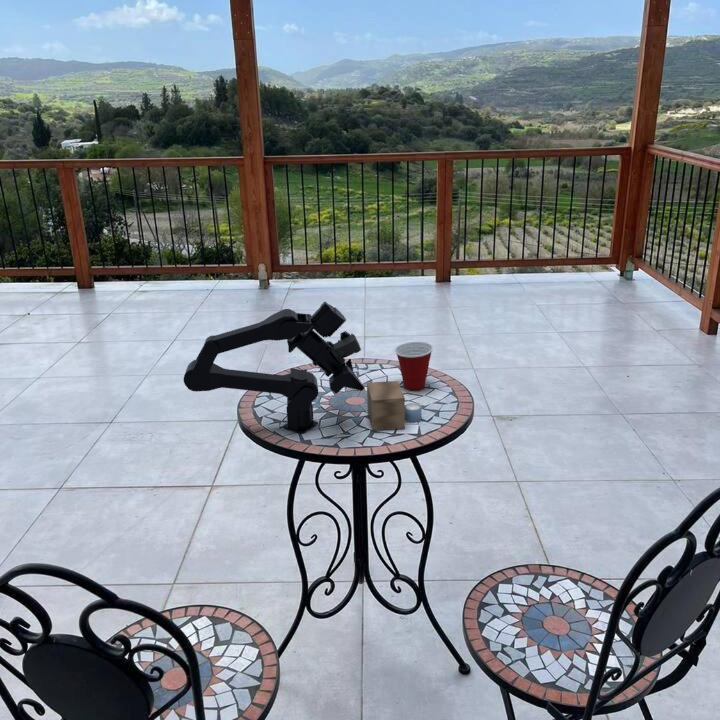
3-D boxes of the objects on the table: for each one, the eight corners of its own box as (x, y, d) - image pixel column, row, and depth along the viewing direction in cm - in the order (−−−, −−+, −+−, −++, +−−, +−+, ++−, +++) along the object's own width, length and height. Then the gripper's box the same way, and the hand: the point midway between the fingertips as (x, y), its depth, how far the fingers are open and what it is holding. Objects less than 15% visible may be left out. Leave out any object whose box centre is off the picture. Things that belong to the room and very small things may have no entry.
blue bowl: (416, 423, 170) (416, 411, 169) (401, 419, 173) (400, 408, 171) (424, 417, 174) (424, 405, 173) (409, 413, 176) (409, 401, 175)
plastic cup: (388, 383, 195) (387, 344, 191) (422, 377, 198) (422, 338, 194) (404, 397, 185) (404, 356, 181) (439, 390, 189) (440, 350, 185)
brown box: (372, 430, 167) (372, 400, 164) (367, 411, 177) (366, 382, 174) (404, 428, 168) (404, 398, 165) (397, 409, 178) (397, 380, 175)
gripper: (343, 338, 154) (391, 381, 159) (337, 314, 171) (381, 353, 176) (309, 372, 156) (358, 413, 161) (307, 345, 173) (351, 383, 178)
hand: (363, 389), depth 169 cm, fingers closed
